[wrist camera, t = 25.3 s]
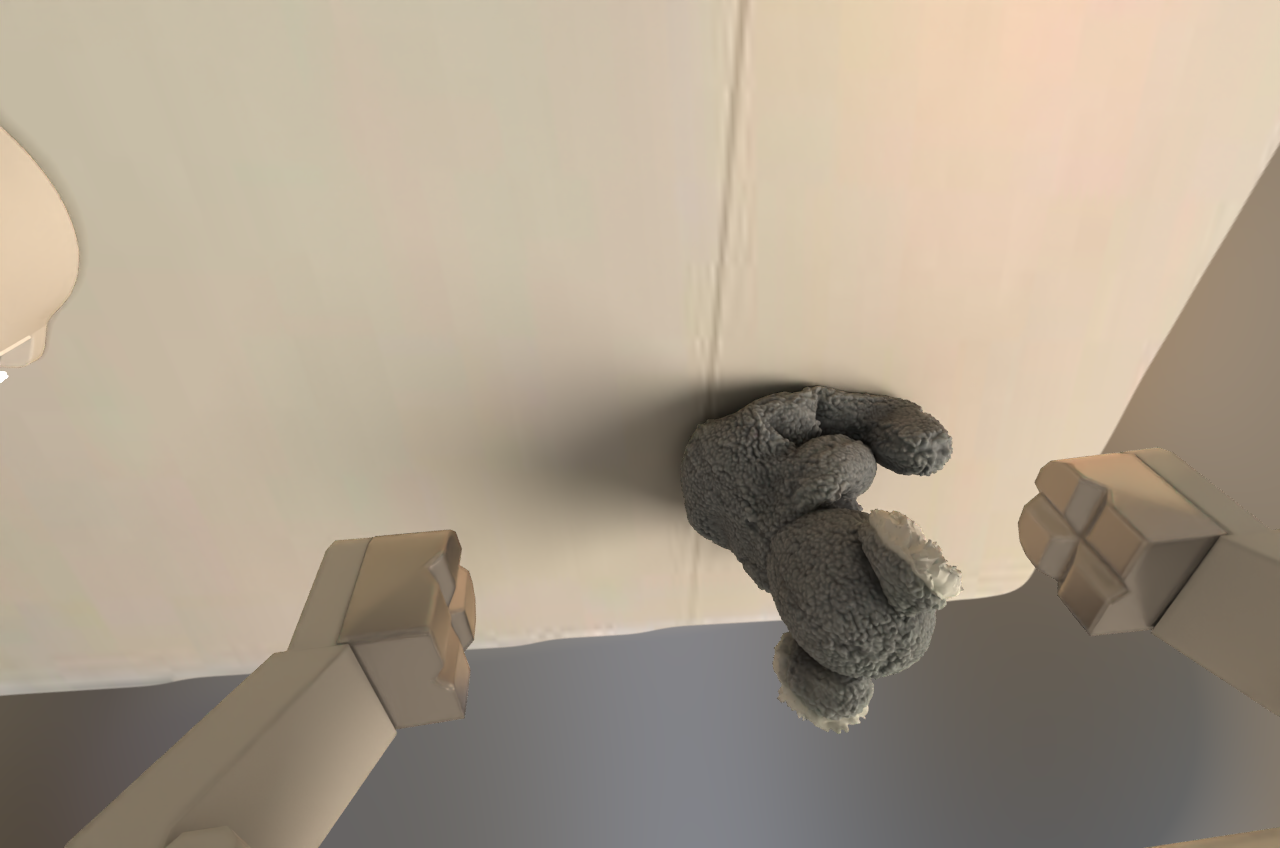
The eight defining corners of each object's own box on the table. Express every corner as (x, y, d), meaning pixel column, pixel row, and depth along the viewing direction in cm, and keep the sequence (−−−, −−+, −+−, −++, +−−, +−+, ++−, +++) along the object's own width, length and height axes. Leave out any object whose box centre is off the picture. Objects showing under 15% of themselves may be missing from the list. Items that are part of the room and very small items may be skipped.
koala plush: (823, 548, 57) (925, 770, 41) (639, 513, 52) (676, 752, 36) (936, 395, 48) (1122, 605, 32) (726, 334, 43) (827, 549, 27)
